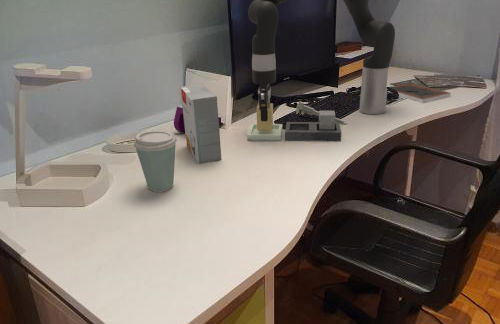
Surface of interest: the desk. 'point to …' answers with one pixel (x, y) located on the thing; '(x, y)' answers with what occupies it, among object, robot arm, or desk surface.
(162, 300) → the desk surface
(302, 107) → the caliper
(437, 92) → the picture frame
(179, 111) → the mounting bracket
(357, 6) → the robot arm
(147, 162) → the disposable coffee cup
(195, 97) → the hard drive box
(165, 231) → the desk surface
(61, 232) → the desk surface
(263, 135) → the parts tray
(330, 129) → the grey upright block
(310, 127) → the grey metal frame
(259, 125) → the golden yellow block
